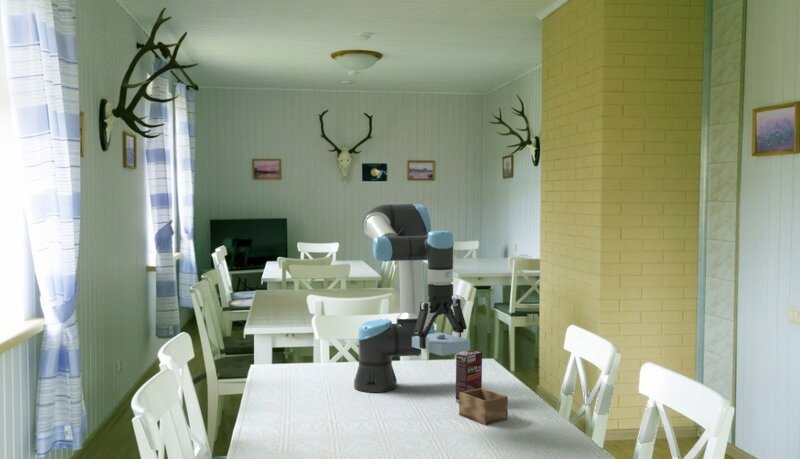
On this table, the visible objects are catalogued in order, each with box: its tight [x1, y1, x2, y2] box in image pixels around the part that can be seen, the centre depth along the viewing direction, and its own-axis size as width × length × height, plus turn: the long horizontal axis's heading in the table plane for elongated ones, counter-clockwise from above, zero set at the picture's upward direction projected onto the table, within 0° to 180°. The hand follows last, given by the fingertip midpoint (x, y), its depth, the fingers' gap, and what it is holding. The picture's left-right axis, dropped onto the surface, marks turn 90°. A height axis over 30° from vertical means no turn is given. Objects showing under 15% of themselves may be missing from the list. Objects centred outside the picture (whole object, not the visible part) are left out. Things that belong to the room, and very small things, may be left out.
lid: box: [412, 332, 471, 357], centre depth 214 cm, size 14×11×5 cm
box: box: [458, 387, 509, 426], centre depth 219 cm, size 12×9×7 cm
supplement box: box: [455, 349, 483, 403], centre depth 237 cm, size 9×5×16 cm, turn 137°
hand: (440, 356), depth 214 cm, fingers closed on lid, 11 cm apart
